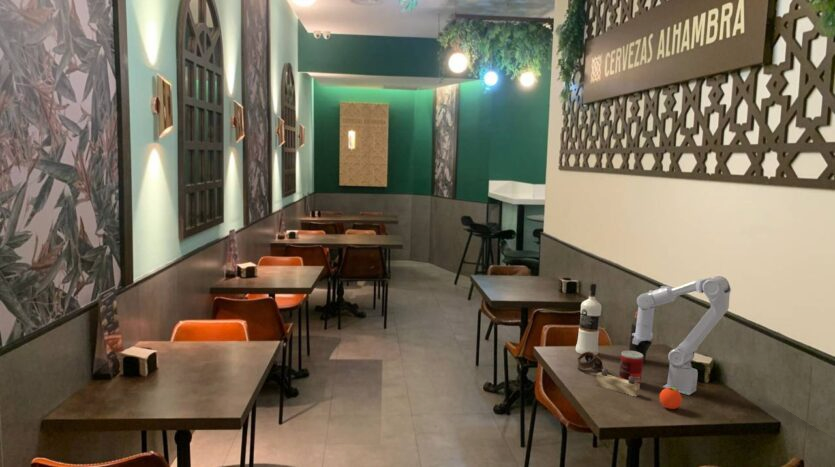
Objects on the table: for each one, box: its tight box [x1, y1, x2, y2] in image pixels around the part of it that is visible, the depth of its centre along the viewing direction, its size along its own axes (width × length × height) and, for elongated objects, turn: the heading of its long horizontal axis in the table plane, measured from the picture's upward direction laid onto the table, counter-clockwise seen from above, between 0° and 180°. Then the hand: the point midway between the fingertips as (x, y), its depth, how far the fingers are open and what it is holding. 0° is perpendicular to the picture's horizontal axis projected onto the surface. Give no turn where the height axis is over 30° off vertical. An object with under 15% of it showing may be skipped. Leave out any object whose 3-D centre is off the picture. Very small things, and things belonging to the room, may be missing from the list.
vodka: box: [575, 282, 602, 356], centre depth 262 cm, size 9×9×30 cm
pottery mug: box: [576, 351, 604, 370], centre depth 243 cm, size 12×10×8 cm
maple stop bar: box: [594, 368, 641, 398], centre depth 222 cm, size 15×3×6 cm, turn 48°
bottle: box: [628, 311, 647, 363], centre depth 257 cm, size 7×7×20 cm
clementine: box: [658, 387, 683, 410], centre depth 208 cm, size 8×7×7 cm
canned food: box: [618, 350, 644, 385], centre depth 230 cm, size 8×8×11 cm
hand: (640, 359), depth 236 cm, fingers closed
